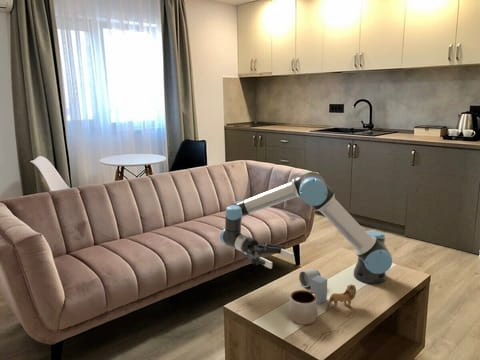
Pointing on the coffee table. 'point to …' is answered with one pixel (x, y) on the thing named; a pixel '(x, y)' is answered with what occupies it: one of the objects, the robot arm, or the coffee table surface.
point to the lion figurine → (343, 297)
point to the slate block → (319, 288)
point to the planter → (303, 307)
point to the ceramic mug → (308, 277)
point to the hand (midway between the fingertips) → (282, 260)
